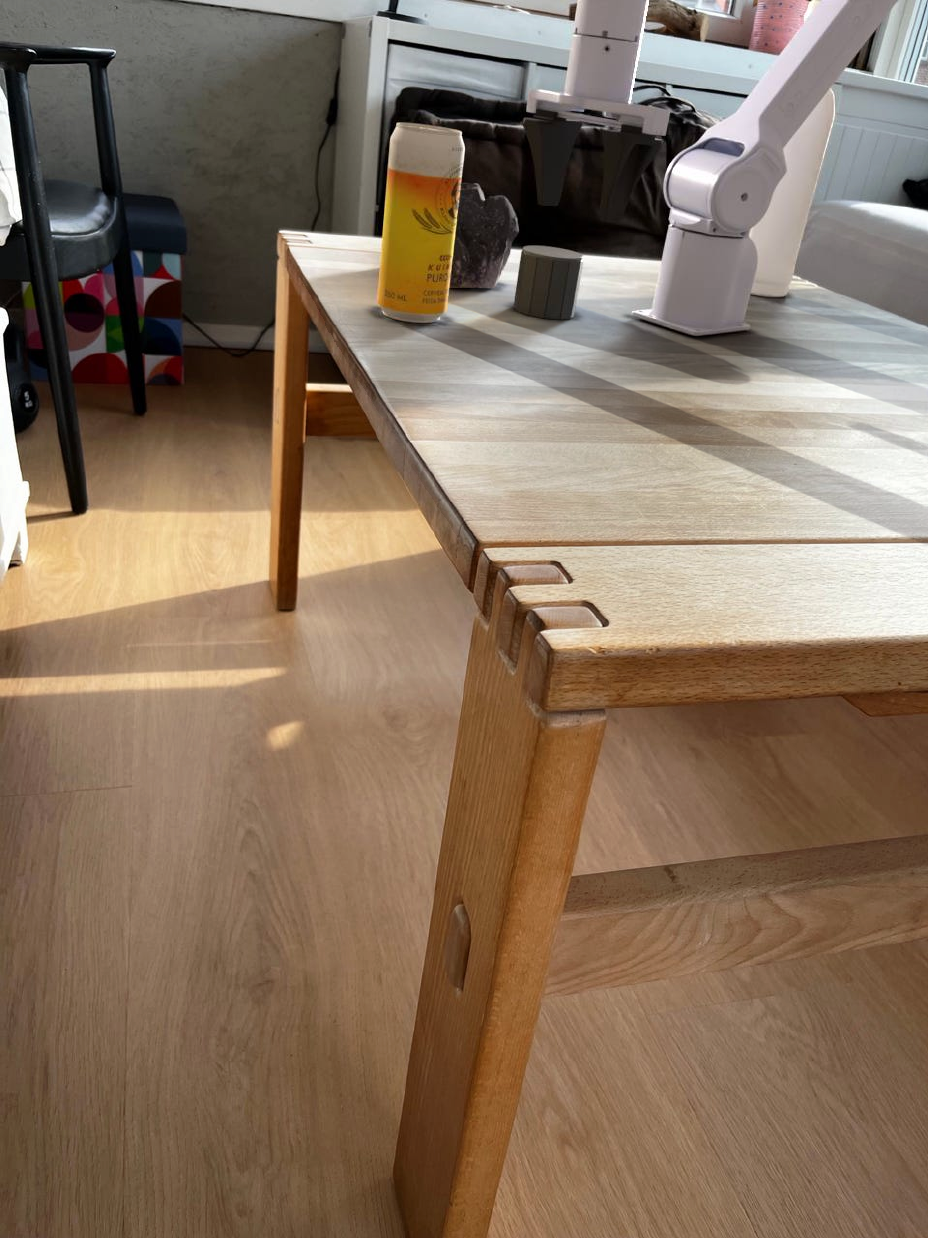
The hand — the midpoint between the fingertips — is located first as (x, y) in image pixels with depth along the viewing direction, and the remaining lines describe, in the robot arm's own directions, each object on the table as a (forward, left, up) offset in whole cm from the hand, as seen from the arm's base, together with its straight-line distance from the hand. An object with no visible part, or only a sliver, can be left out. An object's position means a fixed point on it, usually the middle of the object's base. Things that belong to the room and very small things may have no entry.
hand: (577, 212), depth 91 cm
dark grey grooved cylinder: (0, -3, -9) cm, 10 cm away
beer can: (+14, -5, -10) cm, 18 cm away
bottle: (-39, -4, -10) cm, 41 cm away
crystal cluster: (0, -17, -10) cm, 19 cm away
